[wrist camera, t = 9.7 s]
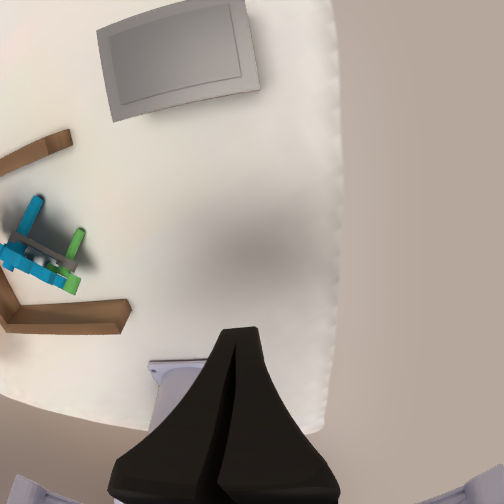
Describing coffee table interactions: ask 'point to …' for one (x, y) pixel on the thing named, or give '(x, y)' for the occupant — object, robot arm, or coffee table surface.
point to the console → (177, 56)
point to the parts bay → (55, 315)
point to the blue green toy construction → (19, 241)
